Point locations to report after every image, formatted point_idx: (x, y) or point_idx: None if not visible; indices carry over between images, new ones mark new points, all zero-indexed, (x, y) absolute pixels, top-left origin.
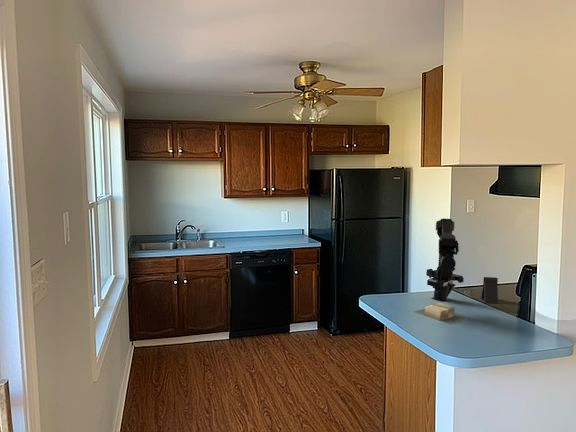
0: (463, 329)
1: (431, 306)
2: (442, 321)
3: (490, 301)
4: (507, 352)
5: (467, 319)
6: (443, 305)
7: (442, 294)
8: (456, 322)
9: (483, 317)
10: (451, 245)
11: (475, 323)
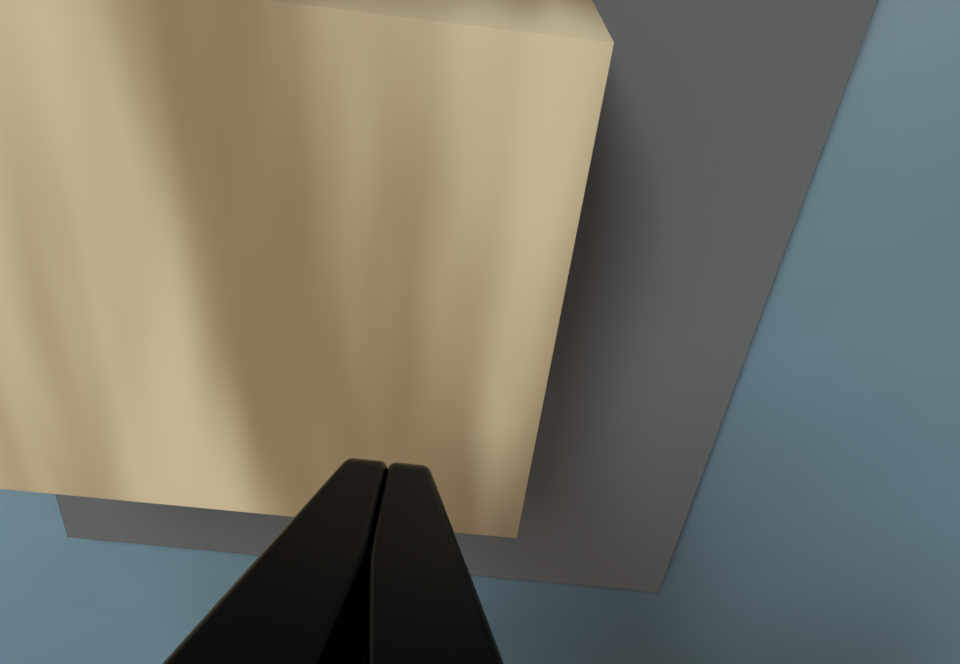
0: (136, 655)
1: None
2: None
3: None
4: None
5: (541, 577)
6: (445, 292)
7: (216, 648)
8: (247, 541)
9: (886, 631)
10: None
11: (507, 656)
